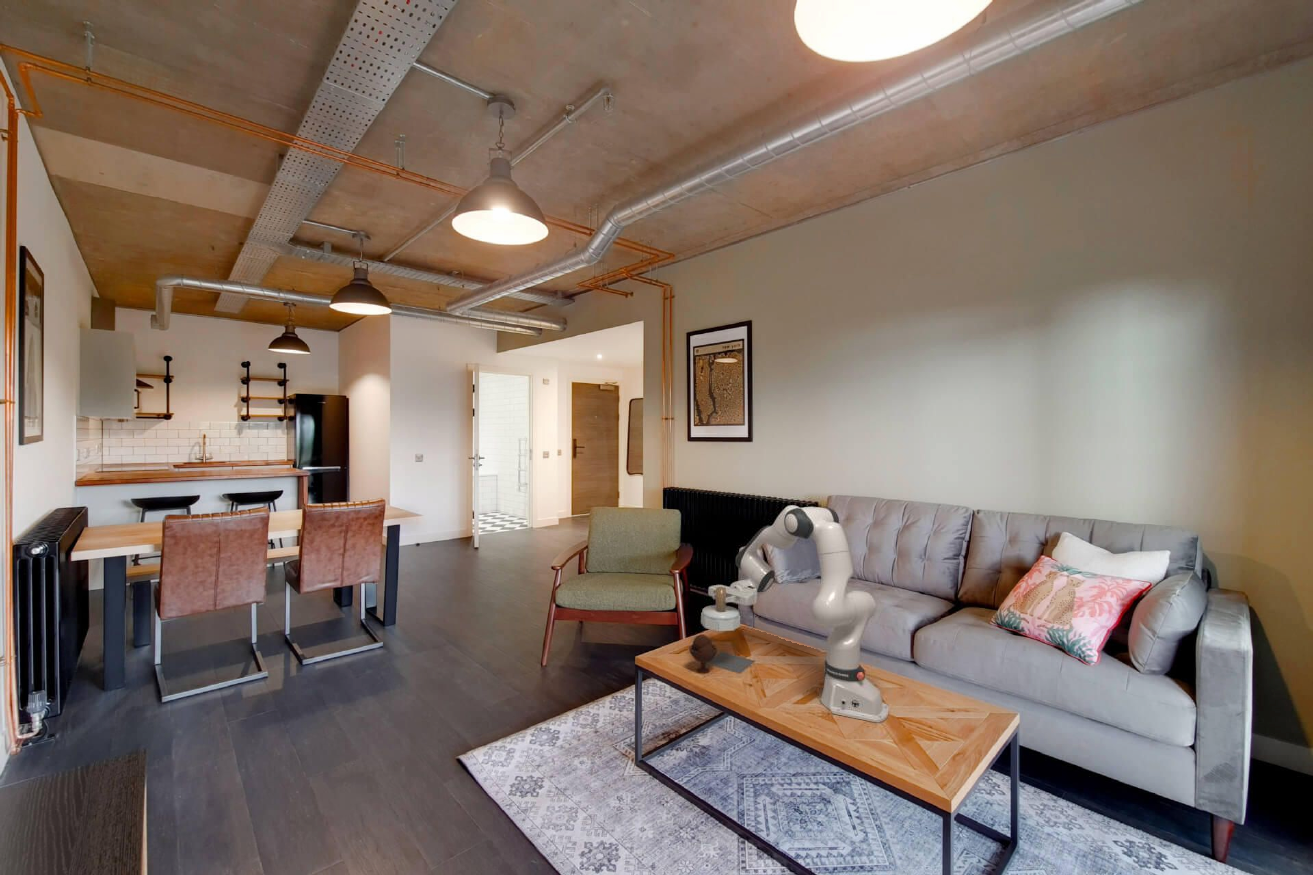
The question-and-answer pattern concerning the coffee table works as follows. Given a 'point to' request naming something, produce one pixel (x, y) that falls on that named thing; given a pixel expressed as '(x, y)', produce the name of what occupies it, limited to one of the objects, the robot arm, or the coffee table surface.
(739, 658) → the mat
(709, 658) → the ice cream bowl
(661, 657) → the coffee table surface
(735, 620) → the hexagonal peg stand
